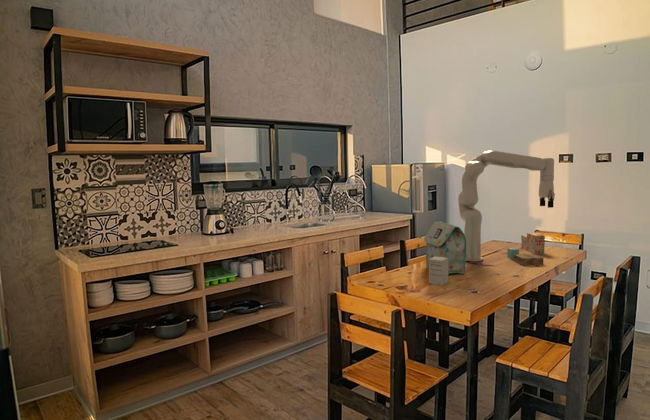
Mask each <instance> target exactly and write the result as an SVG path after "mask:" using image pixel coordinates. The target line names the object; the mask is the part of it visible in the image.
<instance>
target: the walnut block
mask: <svg viewBox="0 0 650 420" xmlns="http://www.w3.org/2000/svg"><path fill="white" fill-rule="evenodd" d="M513 262H515V263H516V264H519V265H521V266H543V265H544V257H542V256H540V255H539V254H533V253H523V254H522V253H519V254H514V259H513Z"/></svg>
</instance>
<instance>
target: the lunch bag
mask: <svg viewBox="0 0 650 420" xmlns="http://www.w3.org/2000/svg"><path fill="white" fill-rule="evenodd" d="M423 241H424V242H425V243H426V245H425V246H426V249H425V267H426V268H428V269H429V259H430V258H433V257H444V258H448V275H450V274H466V263H467V261H466V248H467V242H466V237H465V234H464V231H463V230H462V229H461V227H459V226H458V225H457V226H456V225H455V224H450V223H446V222H443V221H440V220H439V221H434V222H433V223H432V225H431V226H430V227H429V229H428V230H427V232H426V234H425V235H424V238H423Z"/></svg>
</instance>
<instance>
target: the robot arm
mask: <svg viewBox="0 0 650 420" xmlns="http://www.w3.org/2000/svg"><path fill="white" fill-rule="evenodd" d="M489 165H491V166H499V167H505V168H509V169H510V168H512V169H526V170H528V171H532V172H539V183H538V184H539V185H538V186H539V187H538V196H539V206H540V207H545V206H546V198H547V208H548V209H549V208H553V209H554V201H555V195H556V193H555V187H554V186H555V184H554V181H555V180H554V179H555V159H554V158H552V157H545V158H544V157H542V158H541V157H537V156H532V155H531V156H530V155H523V154H518V153H511V152H504V151H499V150H486V151H483V152H482V153H480V154H479V155H477V156H476V157H474V158H472V159H471V160H470V161H468V162H467V163H466V165H465V167H464V168H465V169H464V170H465V171H464V172H463V175H462V177H461V192H459V195H458V201H457V202H458V209H459V216H460V219H461V220H462V221H463V222H465V223H464V231H463V233H464V234H465V237H466V242H467V248H466V262H481V261H484V257H482V256H481V255H482V254H481V253H482V251H481V247H482V246H481V245H482V244H481V242H482V241H481V240H482V239H481V237H482V236H481V235H482V231H481V230H482V221H483V216H482V212H481V211H479V209H477V208H475V205H477V204H478V201H479V193H478V184H477V181H478V178H479V176H480V175H481V174H483V172H485V168H486V167H488V166H489Z"/></svg>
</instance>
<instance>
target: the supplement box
mask: <svg viewBox="0 0 650 420" xmlns="http://www.w3.org/2000/svg"><path fill="white" fill-rule="evenodd" d="M428 283H431V285H435V284H438V285H437V286H442V285H443V286H444V285H446V284H448V283H449V274H448V258H444V257H433V258H430V259H429V268H428Z"/></svg>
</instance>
